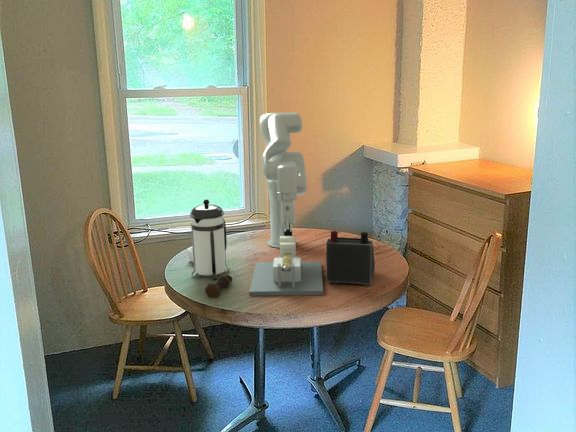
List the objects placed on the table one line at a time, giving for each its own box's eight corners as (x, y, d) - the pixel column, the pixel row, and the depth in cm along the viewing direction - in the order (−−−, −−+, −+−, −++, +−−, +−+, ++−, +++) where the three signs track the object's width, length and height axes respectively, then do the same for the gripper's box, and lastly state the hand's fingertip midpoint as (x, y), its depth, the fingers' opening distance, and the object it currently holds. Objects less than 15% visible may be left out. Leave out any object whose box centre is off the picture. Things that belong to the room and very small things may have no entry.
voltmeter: (374, 272, 227) (375, 222, 222) (370, 287, 211) (371, 234, 206) (333, 269, 230) (333, 220, 225) (326, 284, 215) (326, 232, 210)
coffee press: (236, 278, 223) (232, 201, 216) (194, 283, 219) (188, 205, 211) (227, 263, 239) (223, 192, 232) (188, 268, 235) (183, 195, 227)
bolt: (231, 288, 219) (214, 302, 205) (220, 280, 220) (202, 294, 206) (237, 275, 217) (221, 289, 203) (226, 268, 218) (209, 281, 204)
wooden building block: (283, 280, 222) (283, 253, 225) (291, 280, 221) (291, 253, 225) (281, 270, 208) (281, 241, 212) (290, 270, 208) (290, 241, 211)
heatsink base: (256, 265, 236) (255, 243, 234) (320, 265, 236) (320, 242, 233) (249, 295, 206) (248, 270, 204) (323, 294, 206) (323, 269, 203)
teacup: (205, 264, 240) (204, 251, 239) (186, 264, 240) (186, 251, 239) (209, 256, 250) (208, 244, 248) (191, 256, 250) (190, 244, 249)
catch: (280, 263, 234) (280, 236, 231) (295, 263, 234) (295, 235, 231) (280, 268, 227) (279, 240, 225) (295, 268, 227) (295, 240, 224)
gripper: (296, 199, 224) (297, 245, 229) (296, 191, 239) (297, 235, 243) (276, 200, 224) (278, 246, 229) (278, 192, 239) (279, 235, 243)
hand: (288, 240), depth 236 cm, fingers closed
